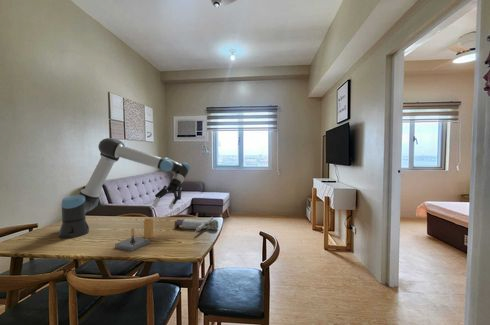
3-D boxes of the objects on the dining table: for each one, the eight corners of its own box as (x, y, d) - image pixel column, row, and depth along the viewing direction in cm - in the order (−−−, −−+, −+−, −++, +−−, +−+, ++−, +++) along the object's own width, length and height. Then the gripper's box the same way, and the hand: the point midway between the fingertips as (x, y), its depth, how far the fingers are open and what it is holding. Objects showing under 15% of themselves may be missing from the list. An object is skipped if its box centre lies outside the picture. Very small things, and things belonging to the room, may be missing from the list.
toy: (164, 235, 138) (210, 238, 132) (164, 224, 138) (210, 227, 132) (186, 221, 167) (224, 223, 161) (186, 212, 167) (224, 214, 161)
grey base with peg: (115, 247, 119) (114, 230, 118) (134, 239, 130) (133, 224, 129) (131, 251, 114) (131, 233, 114) (149, 242, 125) (149, 226, 125)
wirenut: (142, 237, 133) (141, 219, 133) (148, 234, 138) (148, 217, 138) (148, 238, 131) (148, 220, 131) (155, 235, 136) (155, 218, 136)
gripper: (193, 185, 155) (180, 212, 142) (165, 184, 165) (150, 208, 151) (189, 178, 150) (174, 205, 137) (160, 177, 160) (143, 202, 146)
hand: (161, 207), depth 144 cm, fingers open, 13 cm apart
